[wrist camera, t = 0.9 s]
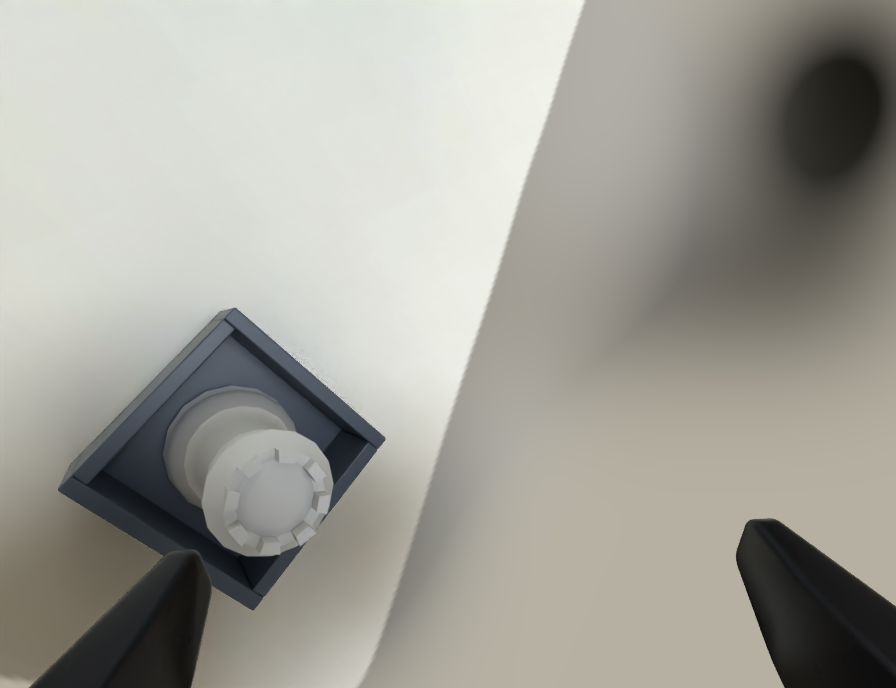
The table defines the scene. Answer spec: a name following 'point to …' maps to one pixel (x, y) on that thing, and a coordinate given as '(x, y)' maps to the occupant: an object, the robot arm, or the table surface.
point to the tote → (144, 434)
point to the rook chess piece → (248, 471)
